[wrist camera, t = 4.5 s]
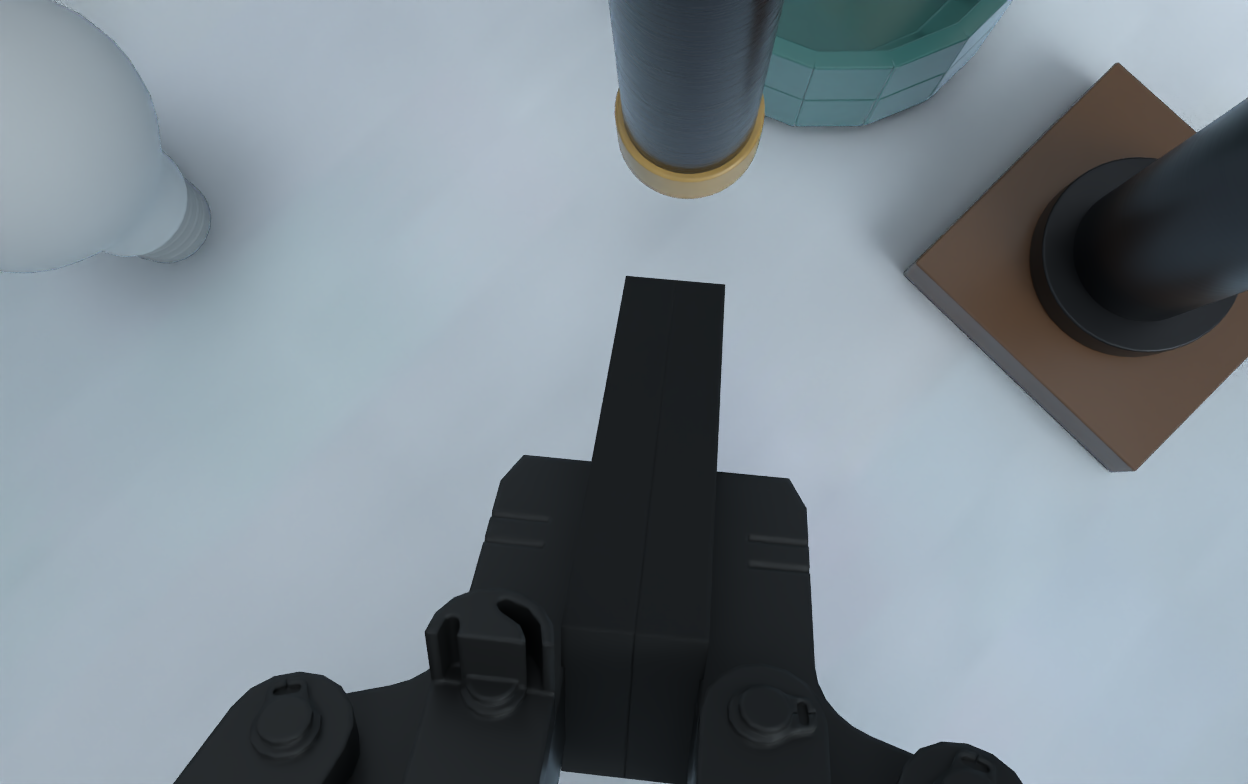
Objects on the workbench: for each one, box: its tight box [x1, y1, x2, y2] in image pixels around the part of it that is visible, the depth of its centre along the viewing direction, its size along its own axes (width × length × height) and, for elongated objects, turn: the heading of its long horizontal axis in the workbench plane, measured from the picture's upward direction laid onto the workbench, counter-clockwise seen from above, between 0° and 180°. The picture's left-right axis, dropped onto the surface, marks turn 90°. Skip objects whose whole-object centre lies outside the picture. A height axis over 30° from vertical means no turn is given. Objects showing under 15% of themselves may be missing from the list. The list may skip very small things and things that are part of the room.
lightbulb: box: [0, 0, 211, 273], centre depth 25 cm, size 6×6×11 cm
